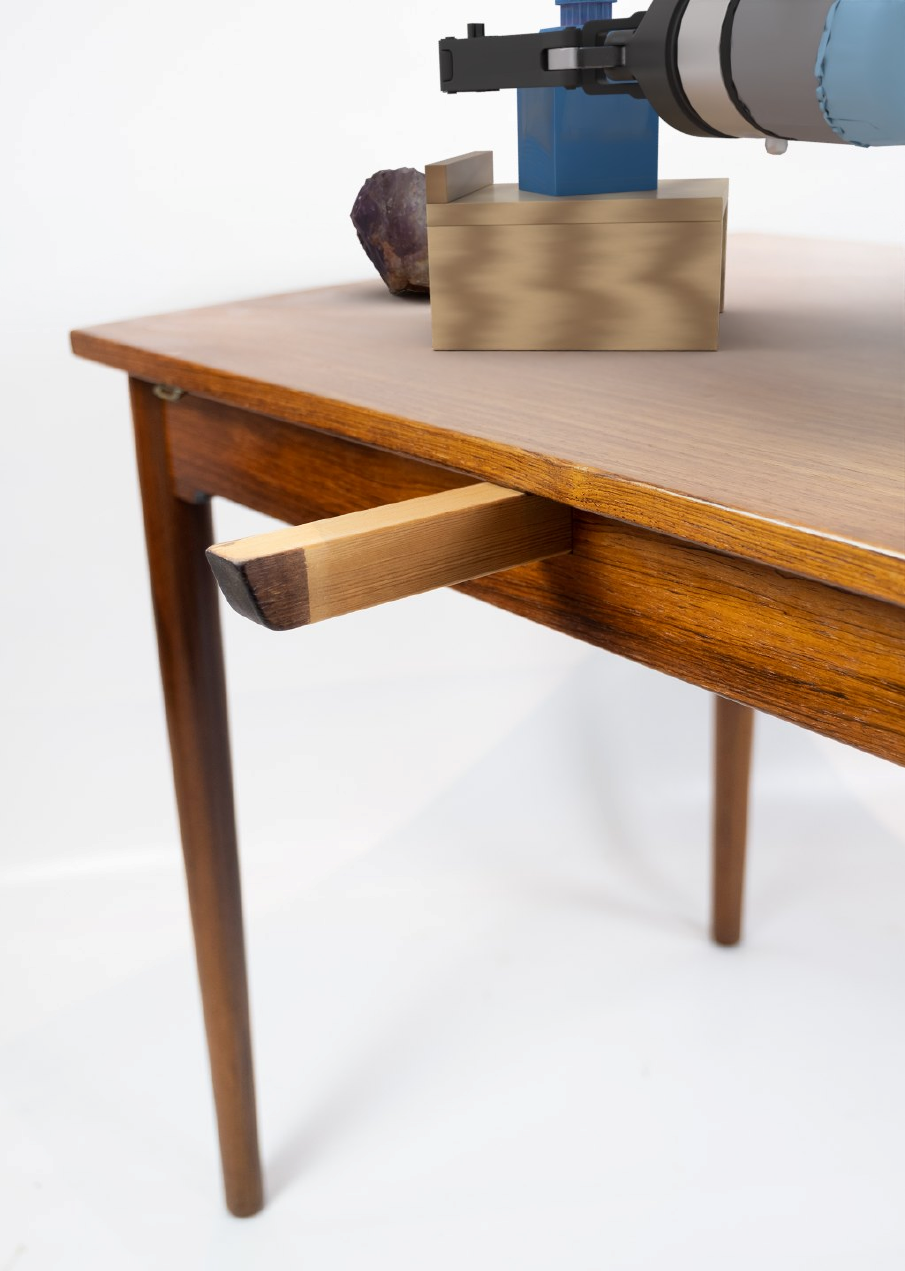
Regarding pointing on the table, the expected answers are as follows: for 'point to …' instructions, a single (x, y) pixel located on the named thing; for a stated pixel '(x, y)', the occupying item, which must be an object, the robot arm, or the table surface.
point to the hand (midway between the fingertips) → (564, 62)
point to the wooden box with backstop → (573, 263)
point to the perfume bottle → (585, 130)
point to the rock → (395, 227)
